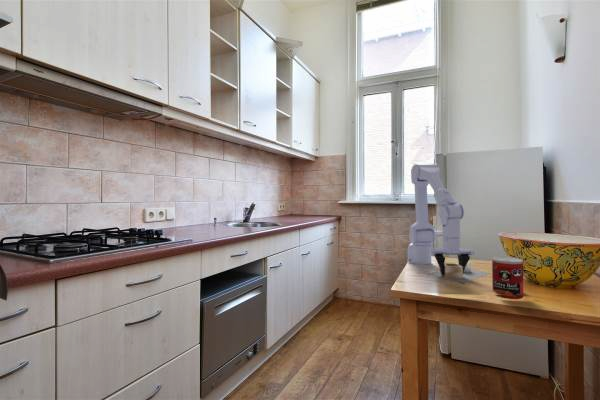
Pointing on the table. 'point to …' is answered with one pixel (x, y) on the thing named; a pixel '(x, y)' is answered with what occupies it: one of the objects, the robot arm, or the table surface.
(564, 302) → the table surface
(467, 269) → the pale grey block
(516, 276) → the canned food
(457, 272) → the collar
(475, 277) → the board
